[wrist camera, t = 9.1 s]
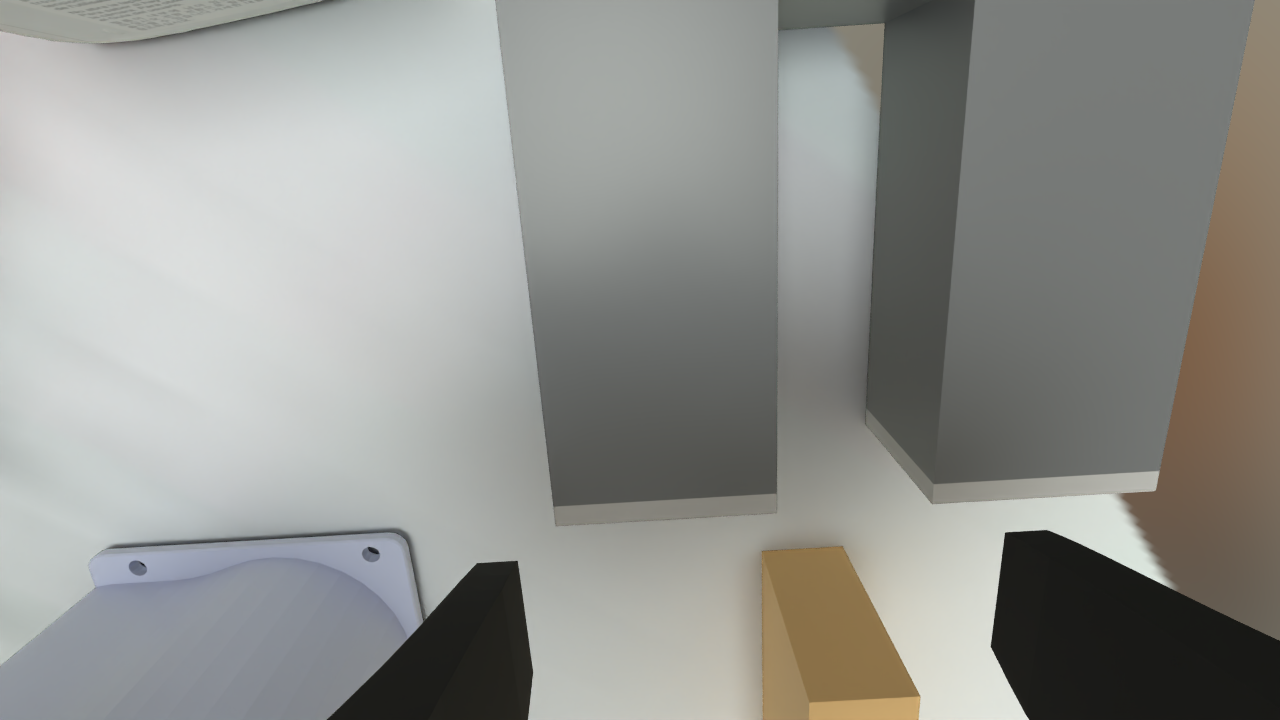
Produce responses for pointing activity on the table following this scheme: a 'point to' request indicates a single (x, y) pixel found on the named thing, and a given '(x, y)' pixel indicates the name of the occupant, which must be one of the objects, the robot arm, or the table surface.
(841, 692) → the tan rectangular block
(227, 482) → the table surface
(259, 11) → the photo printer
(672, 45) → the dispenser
